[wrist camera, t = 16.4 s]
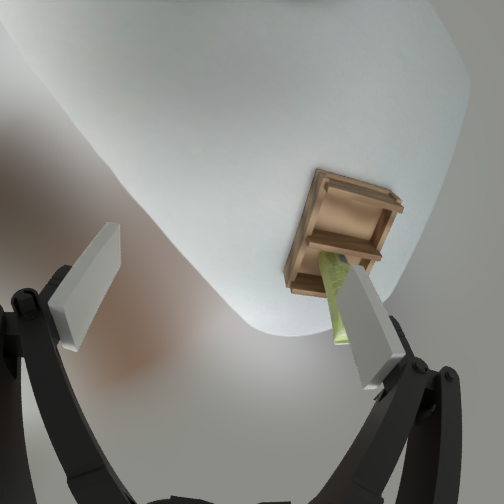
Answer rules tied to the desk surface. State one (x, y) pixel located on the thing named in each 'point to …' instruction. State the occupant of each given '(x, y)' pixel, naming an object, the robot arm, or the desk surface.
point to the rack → (339, 228)
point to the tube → (334, 289)
